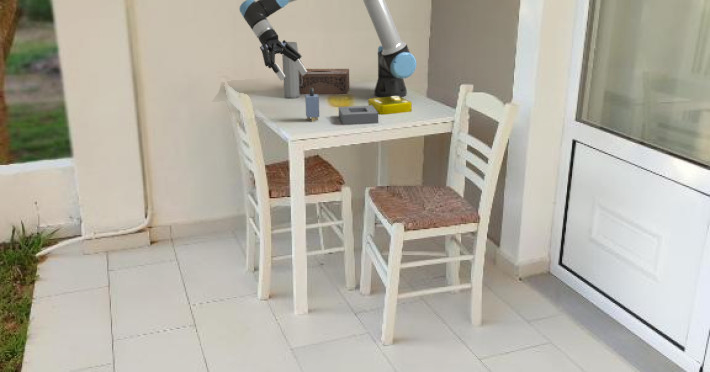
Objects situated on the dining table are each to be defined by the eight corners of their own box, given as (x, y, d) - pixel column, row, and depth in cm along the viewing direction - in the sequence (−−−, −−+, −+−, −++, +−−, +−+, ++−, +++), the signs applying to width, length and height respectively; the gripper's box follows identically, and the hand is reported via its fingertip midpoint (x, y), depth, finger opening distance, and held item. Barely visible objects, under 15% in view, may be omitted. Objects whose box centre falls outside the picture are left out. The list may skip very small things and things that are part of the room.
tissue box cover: (292, 95, 314) (291, 74, 311) (297, 89, 328) (296, 68, 324) (346, 95, 312) (346, 73, 309) (349, 88, 326) (349, 68, 322)
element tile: (366, 108, 286) (366, 97, 284) (398, 105, 291) (398, 94, 289) (380, 116, 272) (380, 104, 271) (413, 112, 277) (413, 101, 276)
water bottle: (287, 99, 303) (285, 44, 295) (281, 96, 310) (278, 42, 302) (306, 97, 307) (304, 42, 299) (299, 94, 314) (297, 40, 306)
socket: (372, 114, 272) (372, 105, 271) (378, 123, 259) (378, 113, 258) (338, 116, 271) (338, 106, 269) (343, 124, 258) (342, 114, 256)
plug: (318, 118, 268) (317, 86, 264) (319, 121, 264) (318, 89, 259) (306, 119, 268) (304, 87, 263) (307, 122, 263) (305, 89, 258)
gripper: (281, 36, 280) (308, 77, 277) (239, 43, 261) (268, 86, 258) (290, 25, 275) (318, 66, 273) (249, 30, 256) (278, 74, 253)
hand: (294, 76), depth 265 cm, fingers open, 13 cm apart
